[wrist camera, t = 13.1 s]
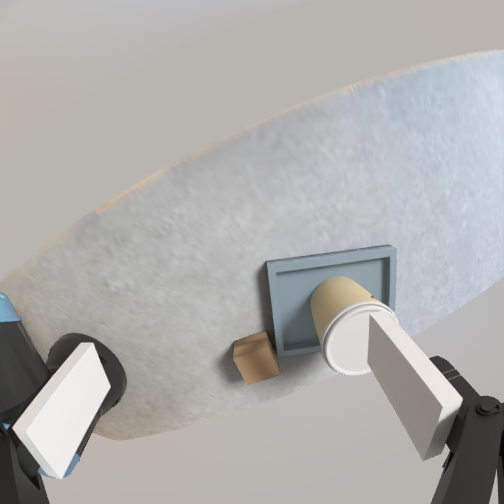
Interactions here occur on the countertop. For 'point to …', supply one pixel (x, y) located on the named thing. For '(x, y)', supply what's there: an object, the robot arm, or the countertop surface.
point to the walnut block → (256, 358)
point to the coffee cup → (344, 323)
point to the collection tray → (306, 281)
